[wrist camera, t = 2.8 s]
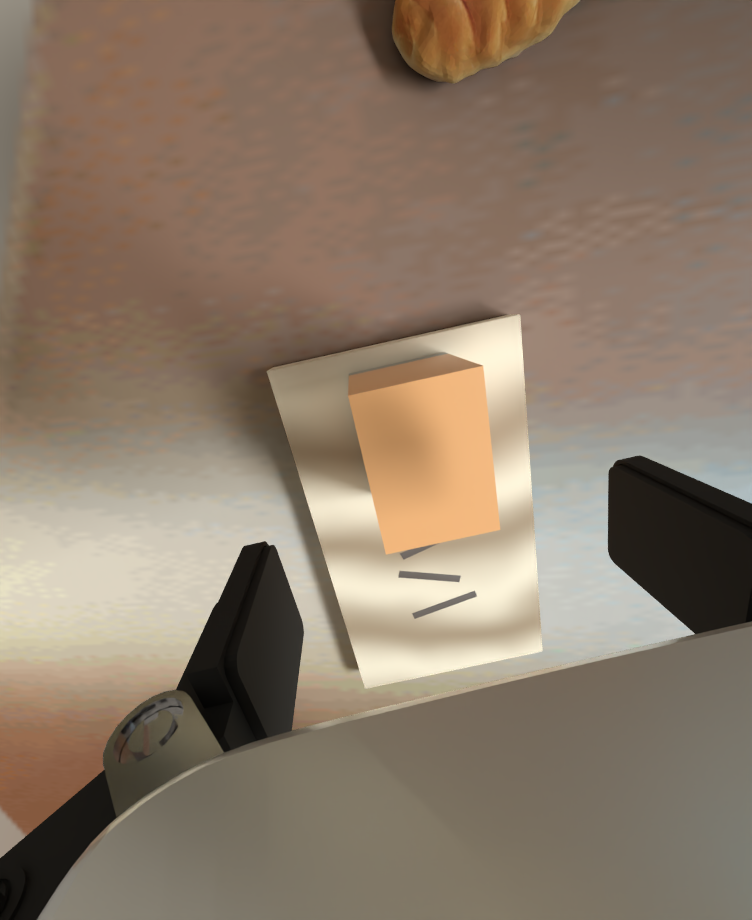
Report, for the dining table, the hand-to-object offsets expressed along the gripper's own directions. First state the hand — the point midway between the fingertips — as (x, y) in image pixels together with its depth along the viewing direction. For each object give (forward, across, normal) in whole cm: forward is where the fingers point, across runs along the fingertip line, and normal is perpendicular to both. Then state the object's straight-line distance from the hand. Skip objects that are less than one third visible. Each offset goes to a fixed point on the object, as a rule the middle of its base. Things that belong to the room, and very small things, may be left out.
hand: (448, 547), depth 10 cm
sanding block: (+11, -1, 0) cm, 11 cm away
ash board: (+12, -1, +7) cm, 14 cm away
